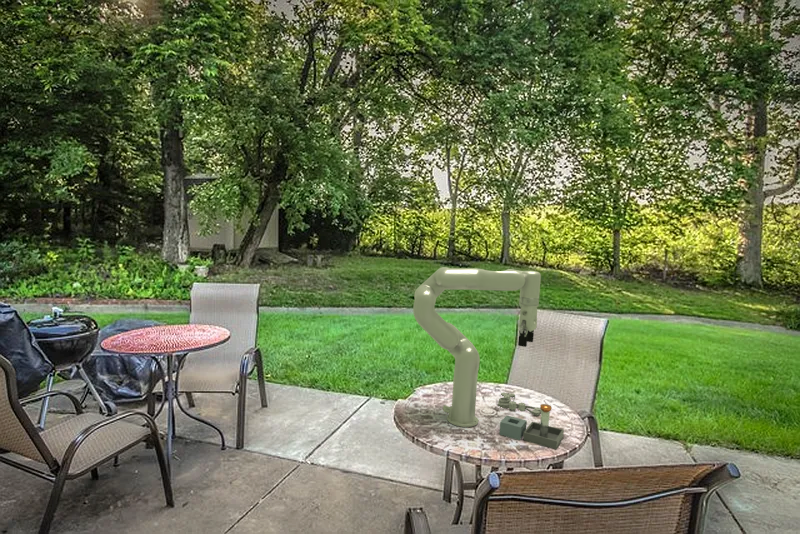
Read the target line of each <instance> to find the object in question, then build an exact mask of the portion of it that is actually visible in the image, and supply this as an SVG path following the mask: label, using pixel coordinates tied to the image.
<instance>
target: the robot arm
mask: <svg viewBox="0 0 800 534" xmlns="http://www.w3.org/2000/svg"><path fill="white" fill-rule="evenodd" d="M541 278H542V275H541V273H540V272H539V271H537V270H535V271H534V270H518V269H513V268H508V269H505V270H501V271H500V270H499V271H497V270H489V269H483V268H476V267H475V268H473V267H472V268H471V267H470V268H469V267H467V268H459V267H458V268H457V267H456V268H452V267H451V268H450V267H447V266H442V267H439V268H438V269H437V270H435V272H434V273H432V274H431V275H430V276H429V277H428V278H427V279H426V280H425V281H423V283H422V284H421V283H420V285H419V286H418V287H417V288H416V289H415V291H414V295H413V296H414V301H413V306H412V309H413V310H412V311H413V317H414V319H415V321H416V323H417V324H418V326H420V327H421V328H422V329H423V330H424V331H425V332H426V333H427V334H428V335H429V337H431V338H432V339H433V340H434V341H435V342H436V343H437V344H438V346H439V347H440V348H441V349H443V350H446V351H448V352H449V354H451V355H452V356H453V357H454V370H453V381H452V382H453V383H452V385H453V386H452V399H451V406H448V405H445V404H444V405H443V406H442V411H443V413H447V414H448V415H447V416H446V420H447V422H448V423H450V424H451V425H454V426H457V427H462V428H463V427H464V428H471V427H475V426H477V425H478V424H479V418H478V417H477V416H476V415H475V414H476V404H477V403H476V402H477V401H476V400H477V387H478V376H479V375H478V374H479V369H480V362H481V361H480V360H481V359H480V358H481V357H480V354H479V351H478V350H477V348H476V347H475V345H474V343H473V342H471V341H470V339H469V338H468V337H466V335H464V333H462V332H461V330H459V329H458V328H457V327H456V326H455V325H454V324H452V323H451V322H447V321H446V320H445V319H444V318H443V317H442V316H441V315H440V314H439V313H438V312H437V311H436V309H435V305H436V302H437V298H439V296H440V295H441V294H442V293H443V292H445V290H449V291H451V290H452V291H454V290H455V291H456V290H460V291H461V290H470V291H471V290H472V291H473V290H475V291H477V290H478V291H503V292H505V291H507V292H508V291H513V292H514V291H518V290H519V299H518V300H519V302H518V305H519V306H520V310H519V318H518V319H519V320H518V330H519V333H518V341H517V342H518V343H517V344H518V346H519V347H524V348H526V347H527V344H528V343H533V342H534V334H535V333H534V331H535V330H536V328H537V326H538V325H537V324H538V307H539V304H540V303H539V302H540V292H541V280H542V279H541Z"/></svg>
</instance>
